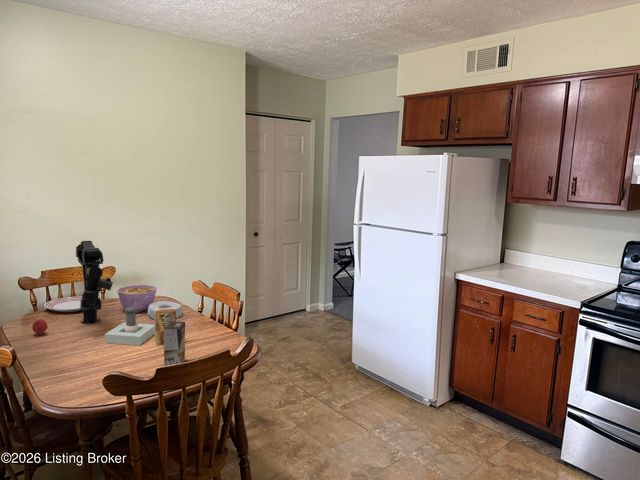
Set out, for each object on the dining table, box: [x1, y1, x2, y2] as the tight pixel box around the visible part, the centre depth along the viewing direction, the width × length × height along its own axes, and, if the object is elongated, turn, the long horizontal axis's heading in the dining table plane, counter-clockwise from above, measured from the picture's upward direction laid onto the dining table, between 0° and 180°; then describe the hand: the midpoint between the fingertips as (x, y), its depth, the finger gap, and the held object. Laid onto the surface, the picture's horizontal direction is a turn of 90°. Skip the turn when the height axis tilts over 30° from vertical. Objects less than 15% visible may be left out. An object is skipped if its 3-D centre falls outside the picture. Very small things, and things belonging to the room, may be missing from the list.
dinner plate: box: [43, 295, 102, 313], centre depth 242 cm, size 27×27×3 cm
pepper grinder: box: [124, 307, 139, 333], centre depth 201 cm, size 6×6×14 cm
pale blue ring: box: [147, 300, 183, 320], centre depth 235 cm, size 18×18×6 cm
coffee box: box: [163, 321, 186, 367], centre depth 176 cm, size 9×6×16 cm
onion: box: [31, 317, 48, 336], centre depth 201 cm, size 6×6×8 cm
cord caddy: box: [104, 322, 155, 346], centre depth 202 cm, size 16×16×4 cm
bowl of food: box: [117, 284, 158, 313], centre depth 242 cm, size 20×20×12 cm
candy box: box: [154, 307, 177, 345], centre depth 198 cm, size 9×4×15 cm, turn 116°
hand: (93, 307), depth 209 cm, fingers open, 9 cm apart
